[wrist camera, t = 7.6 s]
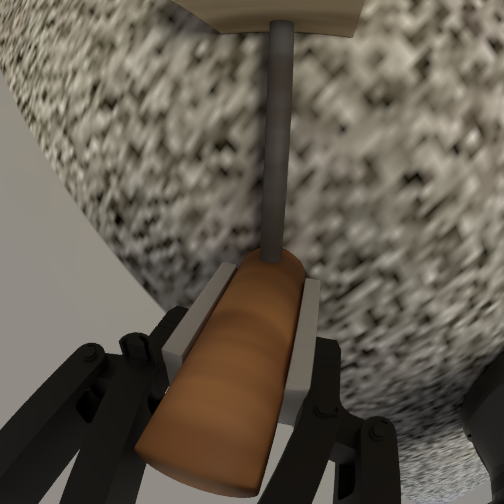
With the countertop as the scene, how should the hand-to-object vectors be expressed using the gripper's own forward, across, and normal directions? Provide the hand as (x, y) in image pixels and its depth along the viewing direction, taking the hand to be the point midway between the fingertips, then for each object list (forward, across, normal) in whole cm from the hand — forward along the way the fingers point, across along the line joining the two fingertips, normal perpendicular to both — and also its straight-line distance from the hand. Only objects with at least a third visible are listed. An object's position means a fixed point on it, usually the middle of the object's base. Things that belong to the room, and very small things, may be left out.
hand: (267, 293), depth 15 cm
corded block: (+1, 0, -9) cm, 9 cm away
